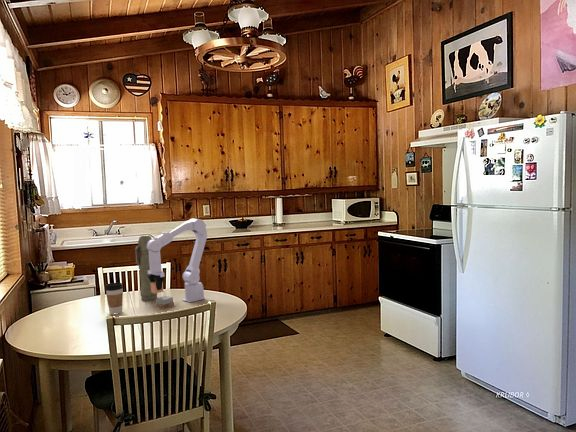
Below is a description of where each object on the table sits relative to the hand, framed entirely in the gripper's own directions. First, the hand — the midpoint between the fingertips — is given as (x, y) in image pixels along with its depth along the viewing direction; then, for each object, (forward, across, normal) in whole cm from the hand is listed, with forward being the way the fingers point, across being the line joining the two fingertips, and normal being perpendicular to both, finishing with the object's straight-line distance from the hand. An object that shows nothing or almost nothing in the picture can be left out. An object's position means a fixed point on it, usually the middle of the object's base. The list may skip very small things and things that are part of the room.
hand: (157, 289), depth 238 cm
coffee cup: (+9, -7, -20) cm, 23 cm away
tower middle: (+7, +2, +2) cm, 8 cm away
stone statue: (+10, -19, +4) cm, 22 cm away
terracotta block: (+2, 0, 0) cm, 2 cm away
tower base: (+10, +2, +2) cm, 10 cm away
